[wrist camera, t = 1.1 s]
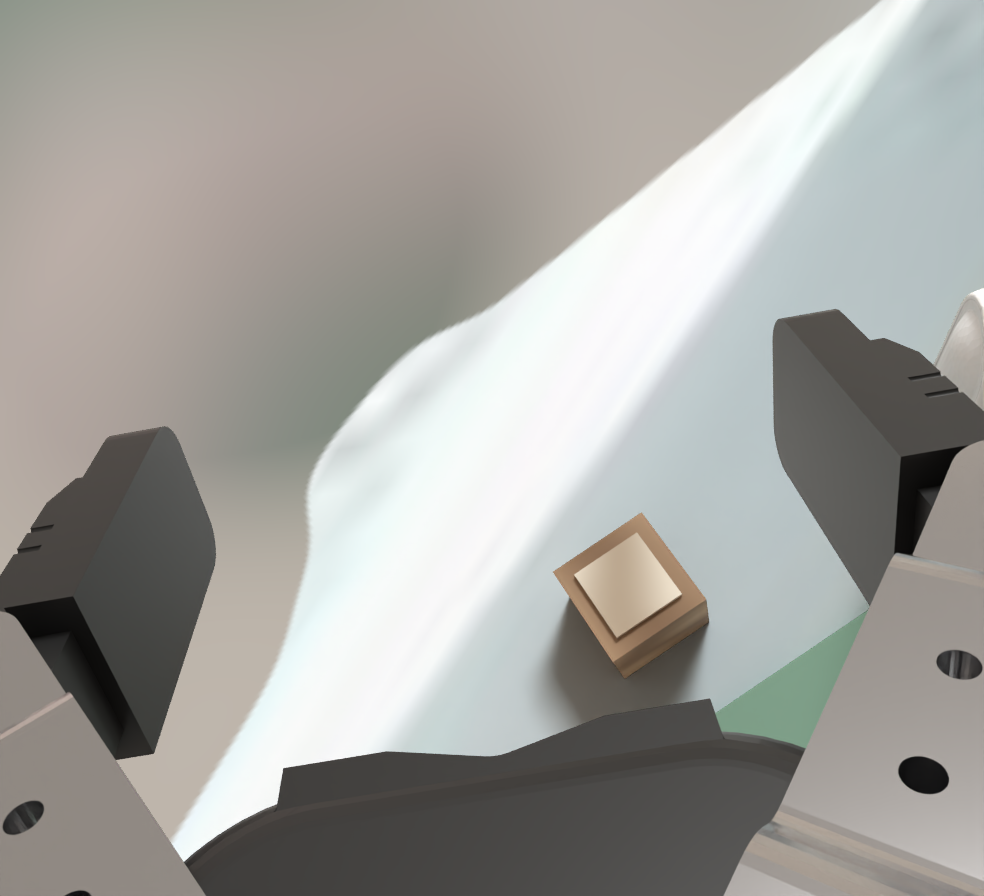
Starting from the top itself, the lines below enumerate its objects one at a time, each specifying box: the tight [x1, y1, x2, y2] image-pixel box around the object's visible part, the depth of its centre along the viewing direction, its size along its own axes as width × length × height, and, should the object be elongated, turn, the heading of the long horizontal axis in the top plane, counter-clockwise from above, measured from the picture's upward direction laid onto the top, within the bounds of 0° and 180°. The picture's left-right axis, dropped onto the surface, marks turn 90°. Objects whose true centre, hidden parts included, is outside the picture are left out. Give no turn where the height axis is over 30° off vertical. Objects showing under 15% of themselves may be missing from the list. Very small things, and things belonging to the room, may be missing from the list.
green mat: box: [715, 610, 868, 748], centre depth 33 cm, size 10×10×1 cm
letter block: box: [553, 512, 709, 678], centre depth 36 cm, size 4×4×4 cm
